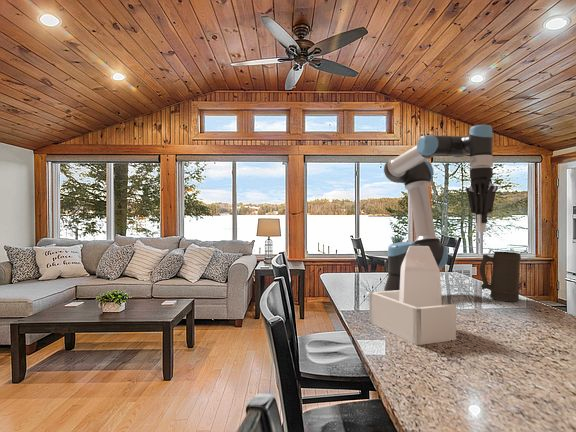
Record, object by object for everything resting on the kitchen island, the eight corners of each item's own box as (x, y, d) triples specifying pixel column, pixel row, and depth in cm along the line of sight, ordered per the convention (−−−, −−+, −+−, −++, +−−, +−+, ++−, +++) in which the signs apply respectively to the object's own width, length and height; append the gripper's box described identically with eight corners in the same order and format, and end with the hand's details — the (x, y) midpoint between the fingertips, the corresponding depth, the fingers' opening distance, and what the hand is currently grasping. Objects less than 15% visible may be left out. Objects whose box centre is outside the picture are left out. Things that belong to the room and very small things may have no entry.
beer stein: (513, 297, 171) (513, 250, 171) (525, 302, 160) (525, 253, 160) (476, 296, 172) (476, 250, 172) (486, 302, 162) (486, 253, 161)
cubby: (369, 322, 133) (369, 292, 133) (403, 318, 137) (403, 289, 137) (416, 345, 109) (416, 309, 109) (456, 339, 113) (456, 305, 113)
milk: (435, 323, 131) (435, 244, 131) (443, 333, 120) (442, 247, 119) (398, 321, 133) (397, 244, 133) (402, 332, 121) (401, 247, 121)
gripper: (459, 169, 150) (460, 231, 150) (487, 165, 137) (487, 233, 138) (475, 170, 152) (475, 231, 152) (503, 166, 140) (504, 232, 140)
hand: (481, 232), depth 145 cm, fingers closed
